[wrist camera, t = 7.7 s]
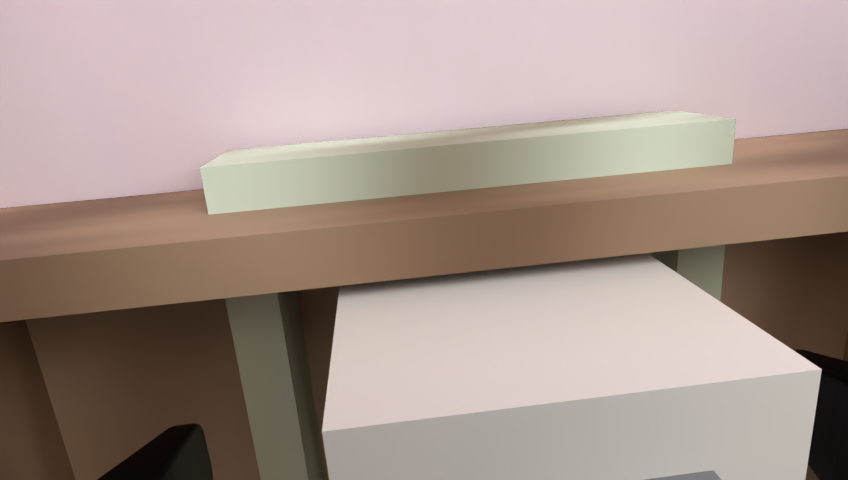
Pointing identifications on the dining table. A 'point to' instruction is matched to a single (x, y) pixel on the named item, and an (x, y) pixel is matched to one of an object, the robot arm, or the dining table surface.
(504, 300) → the plug
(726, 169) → the box
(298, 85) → the dining table surface
